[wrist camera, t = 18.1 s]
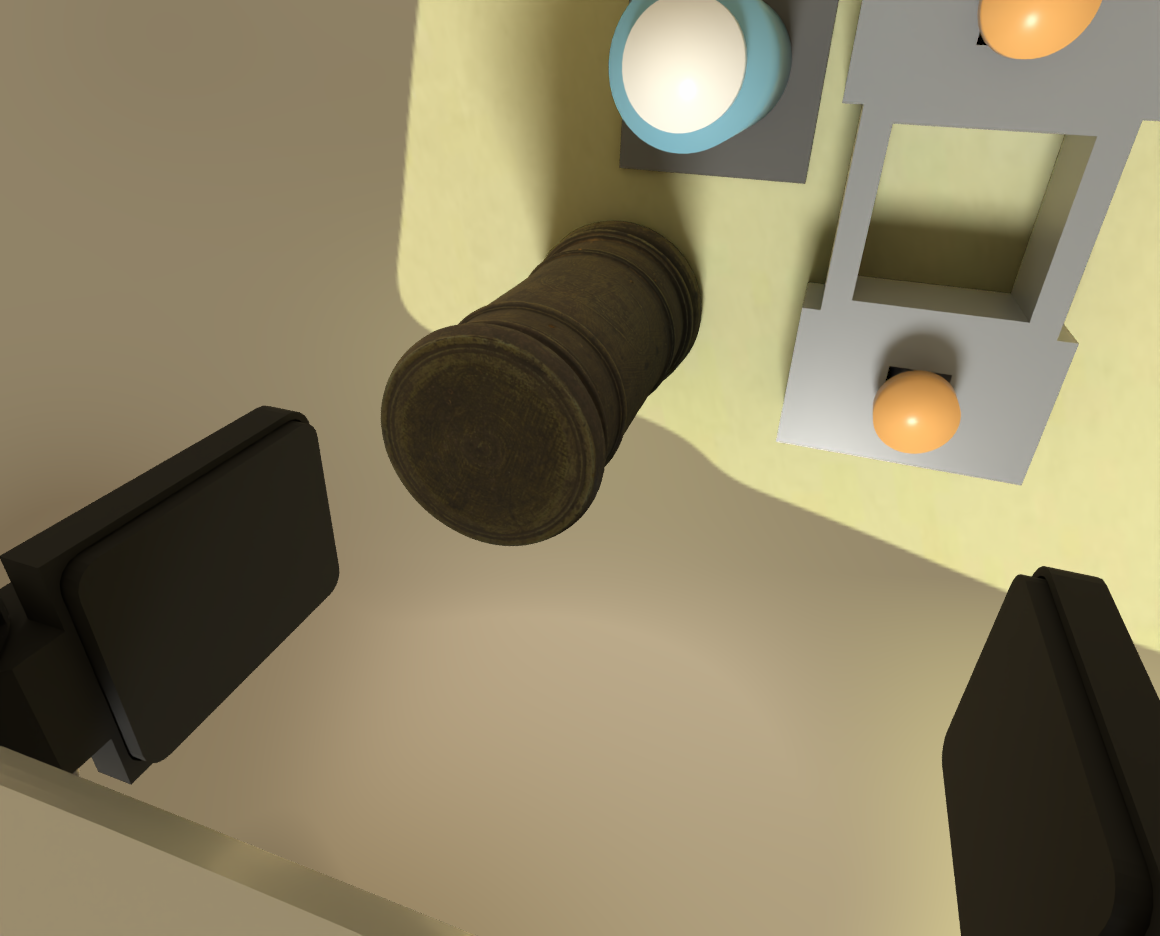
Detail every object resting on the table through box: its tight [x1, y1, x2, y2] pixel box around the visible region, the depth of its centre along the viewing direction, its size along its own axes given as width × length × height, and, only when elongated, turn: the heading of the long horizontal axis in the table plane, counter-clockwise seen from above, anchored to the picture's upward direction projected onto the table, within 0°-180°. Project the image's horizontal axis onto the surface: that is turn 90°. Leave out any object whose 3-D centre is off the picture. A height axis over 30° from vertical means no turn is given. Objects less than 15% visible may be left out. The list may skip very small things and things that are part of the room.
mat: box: [619, 0, 839, 184], centre depth 33 cm, size 9×9×1 cm
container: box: [381, 221, 701, 546], centre depth 32 cm, size 9×9×18 cm
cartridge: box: [609, 0, 792, 154], centre depth 28 cm, size 5×5×11 cm
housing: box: [776, 0, 1160, 485], centre depth 31 cm, size 11×22×4 cm, turn 178°
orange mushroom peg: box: [873, 366, 961, 454], centre depth 33 cm, size 3×3×6 cm
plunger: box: [977, 0, 1102, 59], centre depth 26 cm, size 3×3×6 cm
